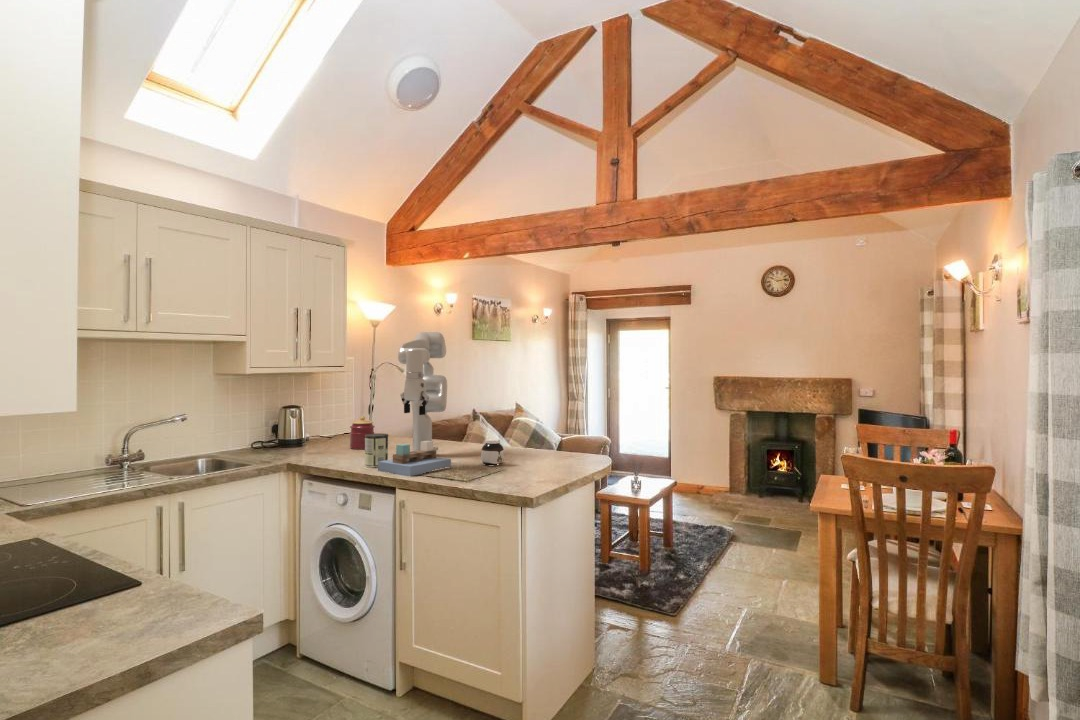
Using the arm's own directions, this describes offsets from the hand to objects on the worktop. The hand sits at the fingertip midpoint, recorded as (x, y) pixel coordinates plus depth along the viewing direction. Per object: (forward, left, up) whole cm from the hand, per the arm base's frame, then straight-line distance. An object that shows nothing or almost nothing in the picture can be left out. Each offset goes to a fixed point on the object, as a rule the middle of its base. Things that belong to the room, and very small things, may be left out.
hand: (414, 413), depth 254 cm
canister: (-24, -67, -24) cm, 75 cm away
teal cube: (+11, +5, -16) cm, 21 cm away
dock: (+4, +5, -24) cm, 25 cm away
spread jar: (-27, +23, -24) cm, 43 cm away
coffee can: (+8, -16, -24) cm, 30 cm away
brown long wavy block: (+4, +5, -20) cm, 21 cm away
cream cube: (-3, +5, -16) cm, 17 cm away
